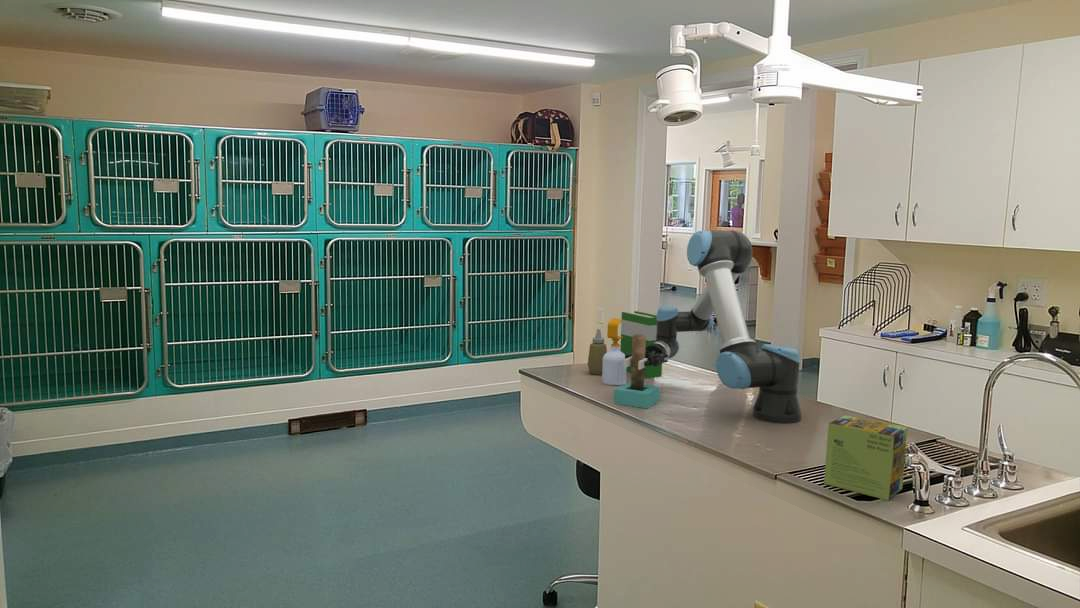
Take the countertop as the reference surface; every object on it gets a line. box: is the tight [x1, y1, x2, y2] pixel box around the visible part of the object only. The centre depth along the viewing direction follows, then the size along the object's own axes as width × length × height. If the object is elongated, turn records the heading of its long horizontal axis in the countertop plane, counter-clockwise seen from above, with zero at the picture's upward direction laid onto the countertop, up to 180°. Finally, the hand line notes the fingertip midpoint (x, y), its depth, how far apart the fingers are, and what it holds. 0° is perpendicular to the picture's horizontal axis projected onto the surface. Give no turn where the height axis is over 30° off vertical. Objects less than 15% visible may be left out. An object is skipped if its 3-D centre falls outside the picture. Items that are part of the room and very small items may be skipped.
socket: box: [613, 382, 661, 409], centre depth 255 cm, size 12×12×5 cm
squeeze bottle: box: [587, 328, 608, 376], centre depth 297 cm, size 8×8×18 cm
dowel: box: [630, 335, 646, 391], centre depth 254 cm, size 4×4×20 cm
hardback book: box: [620, 310, 663, 379], centre depth 300 cm, size 18×7×24 cm, turn 31°
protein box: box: [823, 415, 908, 501], centre depth 180 cm, size 10×15×16 cm
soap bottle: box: [601, 317, 628, 386], centre depth 281 cm, size 9×9×25 cm
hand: (632, 364), depth 249 cm, fingers closed on dowel, 4 cm apart
